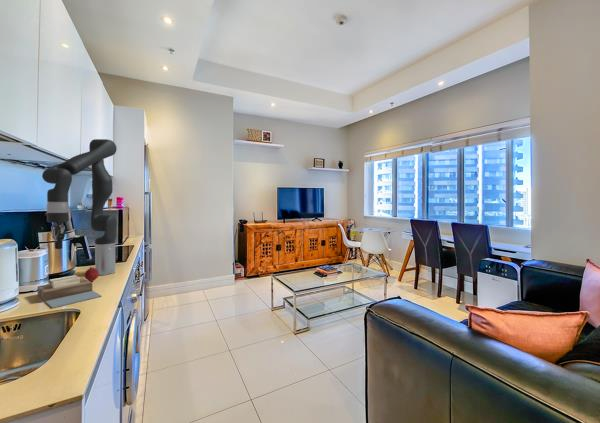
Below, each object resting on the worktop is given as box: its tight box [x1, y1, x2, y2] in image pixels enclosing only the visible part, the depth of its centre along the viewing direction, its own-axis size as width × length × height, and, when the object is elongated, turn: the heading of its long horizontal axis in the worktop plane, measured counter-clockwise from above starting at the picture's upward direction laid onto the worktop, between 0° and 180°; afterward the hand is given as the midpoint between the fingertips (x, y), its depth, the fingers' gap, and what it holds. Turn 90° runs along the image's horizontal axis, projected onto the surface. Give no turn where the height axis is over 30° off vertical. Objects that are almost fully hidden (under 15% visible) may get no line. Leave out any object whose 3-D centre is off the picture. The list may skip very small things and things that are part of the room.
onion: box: [84, 265, 100, 283], centre depth 135 cm, size 6×6×8 cm
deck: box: [37, 277, 93, 303], centre depth 118 cm, size 12×16×4 cm
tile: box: [49, 274, 81, 288], centre depth 119 cm, size 6×9×2 cm, turn 145°
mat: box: [45, 290, 102, 309], centre depth 112 cm, size 10×16×1 cm, turn 145°
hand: (58, 248), depth 123 cm, fingers closed
